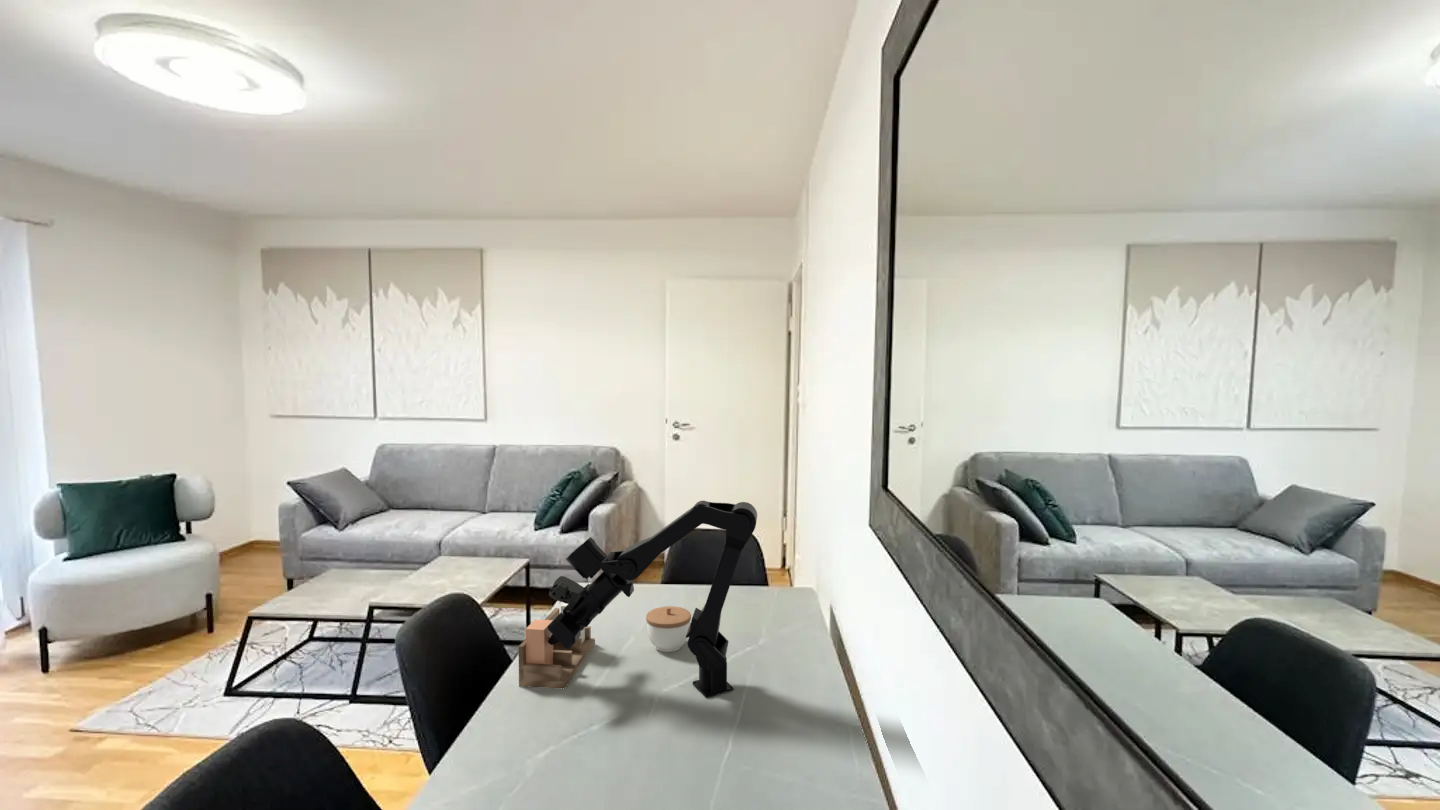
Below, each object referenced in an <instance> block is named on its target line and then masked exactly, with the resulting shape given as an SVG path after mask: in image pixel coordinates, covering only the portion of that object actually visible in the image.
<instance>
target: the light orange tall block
mask: <svg viewBox="0 0 1440 810" xmlns="http://www.w3.org/2000/svg"><path fill="white" fill-rule="evenodd" d="M552 621H553V620H544V619H539V618H538V619H534V620H533V621H532V622H531V623H530V624H529V625H528V626H527V627H526V628H525V639H526V663H530V664H549V665H553V645H550V644H549V643H548V640H549V638H550V637H551V635H552V633H551V632H550V631H549V630H548V627H547V626H548V625H549V624H550V623H551V622H552Z"/></svg>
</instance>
